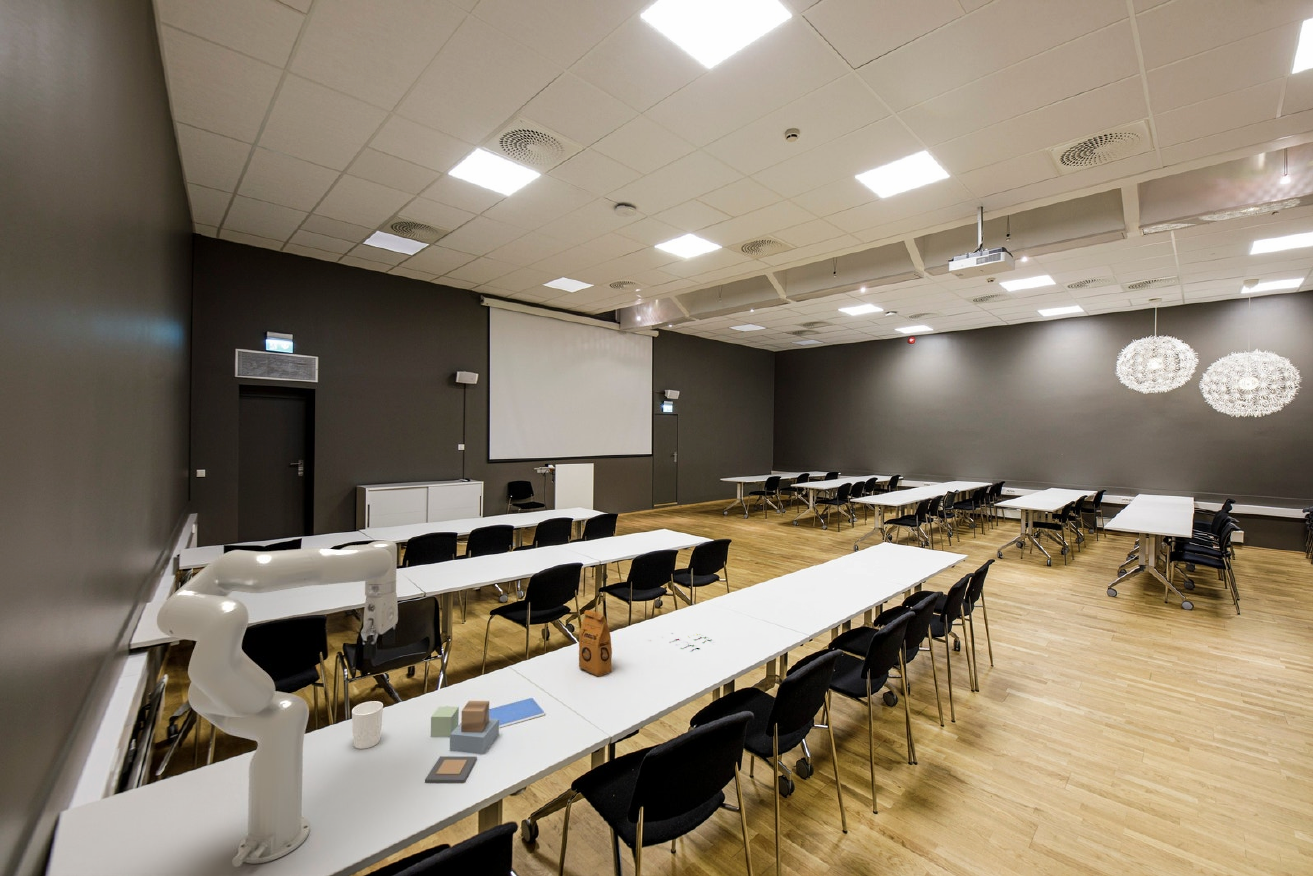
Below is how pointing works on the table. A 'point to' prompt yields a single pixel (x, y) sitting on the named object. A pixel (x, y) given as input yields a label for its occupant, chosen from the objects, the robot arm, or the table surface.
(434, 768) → the tile
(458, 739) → the base block
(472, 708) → the walnut cube
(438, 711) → the sage cube
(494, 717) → the tablet computer
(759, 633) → the table surface
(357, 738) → the white cup
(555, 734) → the table surface
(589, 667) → the coffee package
